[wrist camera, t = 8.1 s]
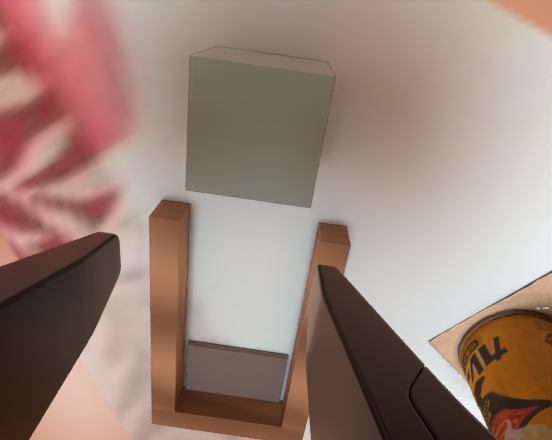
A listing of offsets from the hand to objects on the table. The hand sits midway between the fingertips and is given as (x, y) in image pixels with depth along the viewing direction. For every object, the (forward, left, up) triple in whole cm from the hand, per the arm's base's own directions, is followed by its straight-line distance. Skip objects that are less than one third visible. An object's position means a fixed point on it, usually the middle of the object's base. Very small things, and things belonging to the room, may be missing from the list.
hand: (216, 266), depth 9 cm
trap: (-16, 0, -12) cm, 20 cm away
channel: (-12, 0, -12) cm, 17 cm away
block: (+1, 0, -12) cm, 12 cm away
